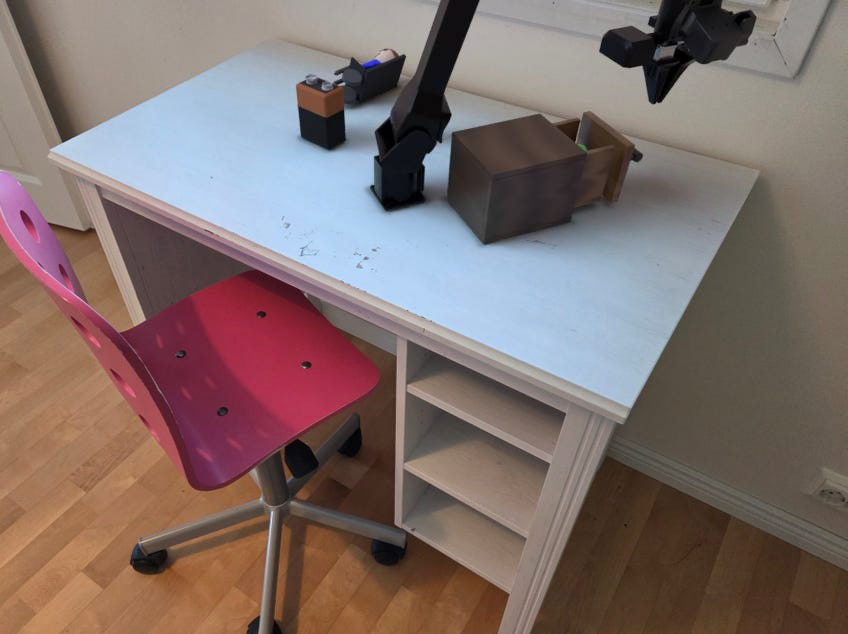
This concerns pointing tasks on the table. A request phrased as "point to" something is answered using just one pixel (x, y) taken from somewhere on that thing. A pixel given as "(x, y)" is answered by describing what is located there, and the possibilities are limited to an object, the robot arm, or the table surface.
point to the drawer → (600, 158)
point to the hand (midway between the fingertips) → (654, 102)
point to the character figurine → (371, 76)
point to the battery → (321, 111)
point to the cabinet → (513, 177)
